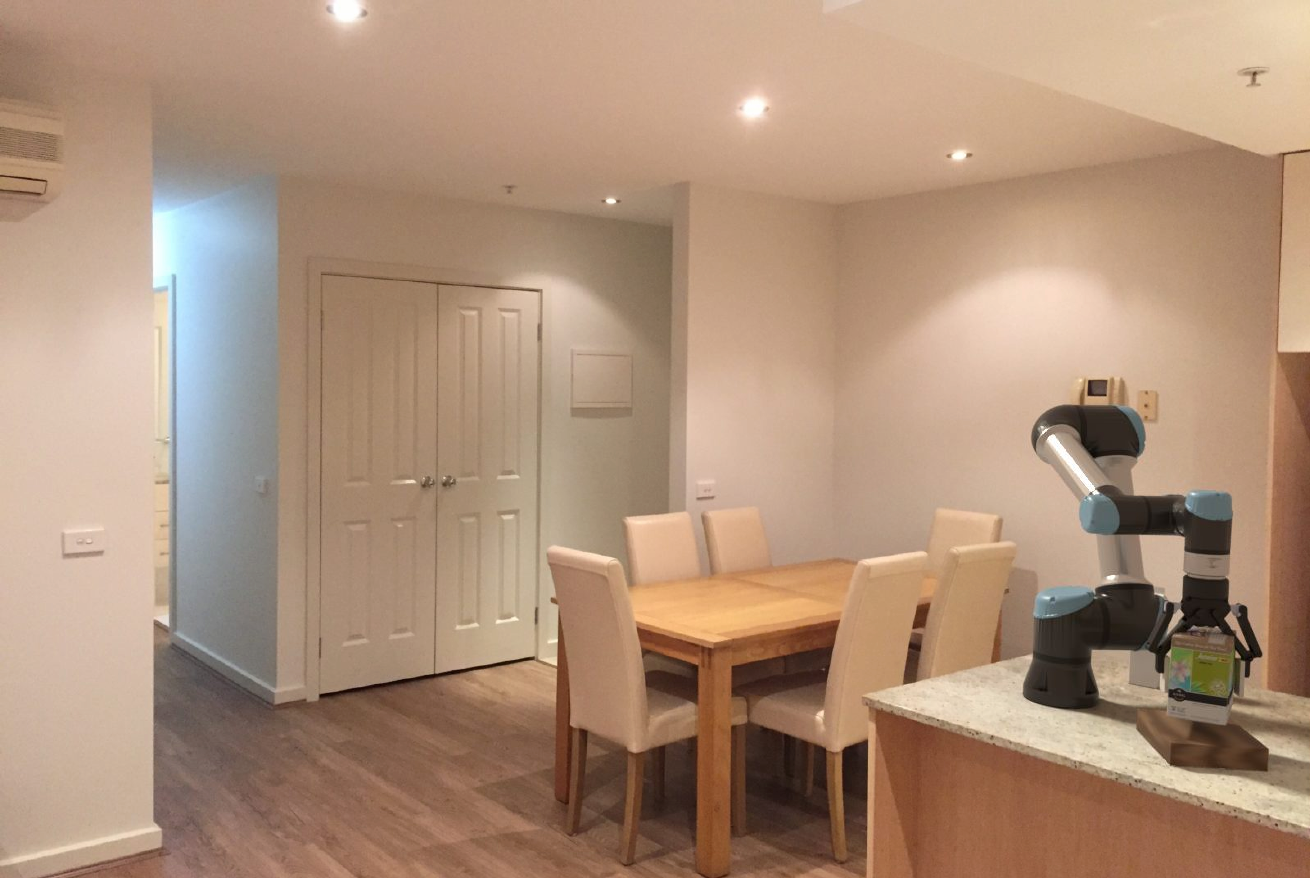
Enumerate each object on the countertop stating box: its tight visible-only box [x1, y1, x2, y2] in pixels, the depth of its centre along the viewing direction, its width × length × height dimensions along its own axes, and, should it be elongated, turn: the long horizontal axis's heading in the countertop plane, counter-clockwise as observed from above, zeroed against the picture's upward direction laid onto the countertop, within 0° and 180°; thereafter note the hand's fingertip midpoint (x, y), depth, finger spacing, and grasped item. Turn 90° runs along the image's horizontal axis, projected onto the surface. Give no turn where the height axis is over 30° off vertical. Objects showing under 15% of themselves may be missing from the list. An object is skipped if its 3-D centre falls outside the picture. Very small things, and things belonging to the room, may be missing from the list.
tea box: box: [1166, 625, 1237, 725], centre depth 198 cm, size 15×10×15 cm
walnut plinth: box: [1136, 708, 1270, 773], centre depth 198 cm, size 16×20×4 cm
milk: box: [1128, 585, 1169, 689], centre depth 242 cm, size 6×6×22 cm
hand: (1201, 693), depth 198 cm, fingers closed on tea box, 12 cm apart
